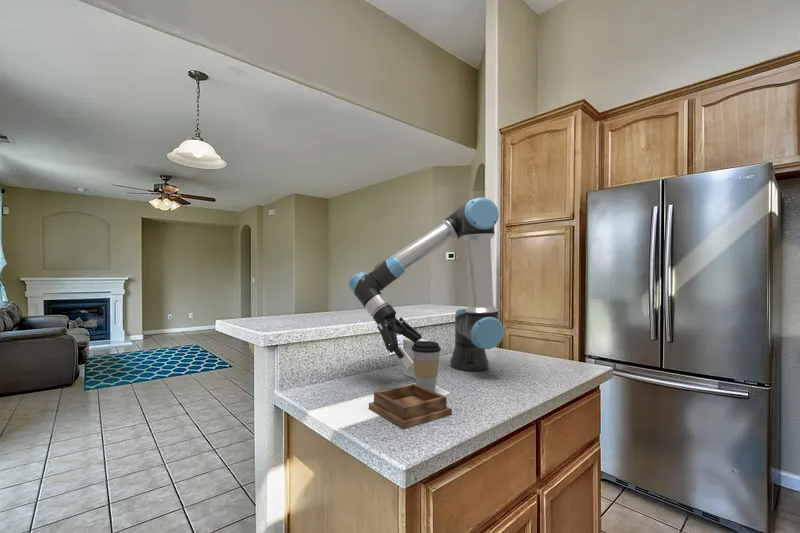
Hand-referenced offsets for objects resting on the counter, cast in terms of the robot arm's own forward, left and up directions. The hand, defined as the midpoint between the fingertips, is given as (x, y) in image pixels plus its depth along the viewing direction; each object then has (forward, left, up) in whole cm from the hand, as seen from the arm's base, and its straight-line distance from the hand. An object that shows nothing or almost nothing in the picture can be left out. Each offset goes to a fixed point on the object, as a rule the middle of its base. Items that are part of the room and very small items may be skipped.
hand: (420, 361), depth 117 cm
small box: (-9, -14, -9) cm, 19 cm away
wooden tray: (+14, +12, -9) cm, 21 cm away
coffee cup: (-1, +1, -9) cm, 10 cm away
